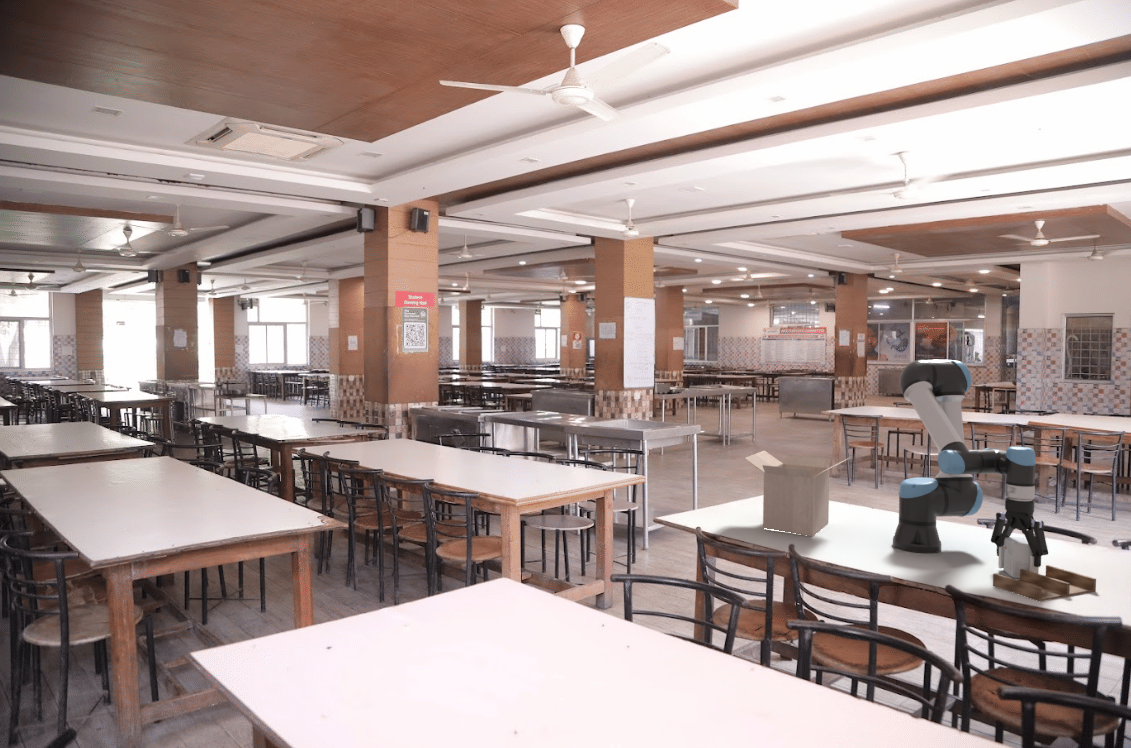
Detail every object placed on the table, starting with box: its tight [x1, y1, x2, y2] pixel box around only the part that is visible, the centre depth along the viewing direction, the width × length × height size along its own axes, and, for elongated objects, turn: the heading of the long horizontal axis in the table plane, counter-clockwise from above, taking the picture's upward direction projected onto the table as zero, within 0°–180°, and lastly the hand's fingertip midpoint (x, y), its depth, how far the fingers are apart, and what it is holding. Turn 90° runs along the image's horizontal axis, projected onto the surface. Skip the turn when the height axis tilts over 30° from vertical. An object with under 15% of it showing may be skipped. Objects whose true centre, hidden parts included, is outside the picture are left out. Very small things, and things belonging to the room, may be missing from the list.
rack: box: [992, 564, 1097, 602], centre depth 216 cm, size 14×23×4 cm, turn 112°
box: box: [743, 450, 851, 538], centre depth 286 cm, size 33×31×26 cm
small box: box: [1002, 536, 1033, 579], centre depth 228 cm, size 8×6×10 cm
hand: (1017, 572), depth 228 cm, fingers open, 9 cm apart
